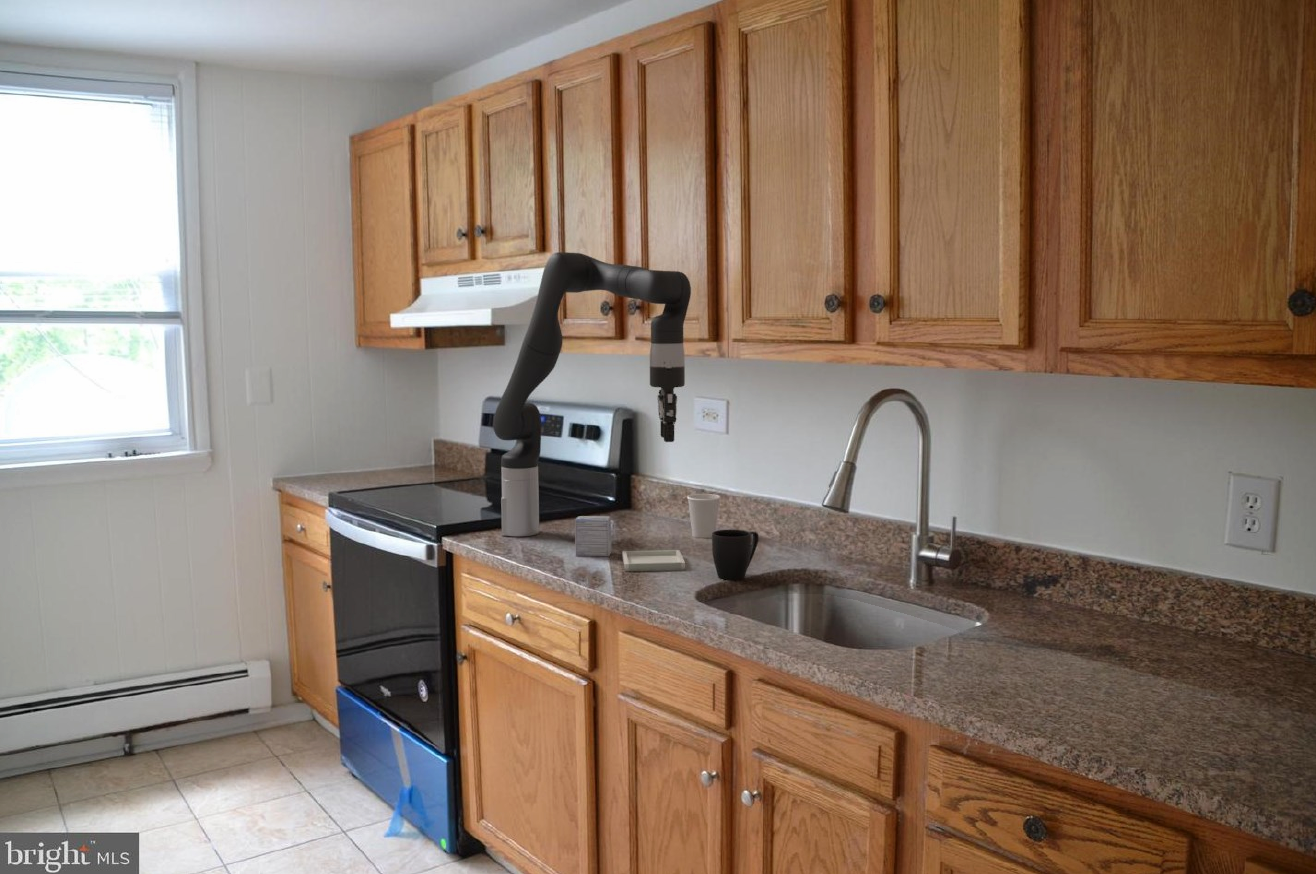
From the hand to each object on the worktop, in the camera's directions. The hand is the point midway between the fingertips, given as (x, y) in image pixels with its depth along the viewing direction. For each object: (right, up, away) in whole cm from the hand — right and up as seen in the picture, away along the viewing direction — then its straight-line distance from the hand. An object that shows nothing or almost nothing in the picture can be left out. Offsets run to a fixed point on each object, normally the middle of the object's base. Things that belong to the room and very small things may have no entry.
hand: (667, 439), depth 230 cm
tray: (-3, -28, +6) cm, 28 cm away
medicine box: (-17, -27, +16) cm, 35 cm away
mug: (+15, -29, -6) cm, 33 cm away
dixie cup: (+9, -24, +37) cm, 45 cm away
